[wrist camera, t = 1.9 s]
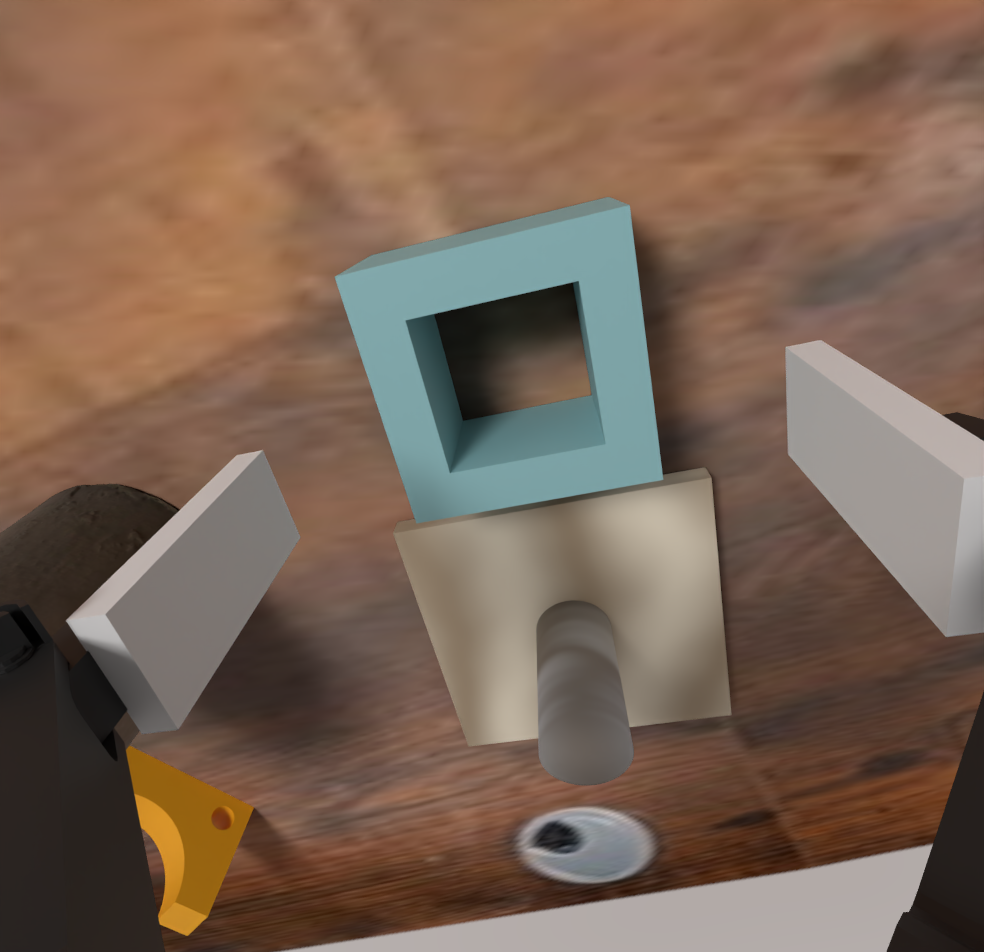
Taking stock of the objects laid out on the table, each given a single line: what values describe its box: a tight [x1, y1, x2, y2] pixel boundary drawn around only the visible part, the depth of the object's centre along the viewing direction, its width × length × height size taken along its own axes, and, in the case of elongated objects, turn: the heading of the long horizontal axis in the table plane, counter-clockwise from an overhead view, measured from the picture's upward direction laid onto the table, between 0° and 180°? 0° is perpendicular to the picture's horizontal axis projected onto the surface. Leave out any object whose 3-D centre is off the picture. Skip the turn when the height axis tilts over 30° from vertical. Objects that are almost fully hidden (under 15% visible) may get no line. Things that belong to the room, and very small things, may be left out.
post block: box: [393, 467, 731, 785], centre depth 27 cm, size 14×14×8 cm
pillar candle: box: [0, 484, 179, 749], centre depth 24 cm, size 10×10×15 cm
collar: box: [335, 197, 663, 524], centre depth 22 cm, size 9×9×5 cm
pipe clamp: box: [126, 746, 254, 936], centre depth 35 cm, size 12×4×6 cm, turn 52°
